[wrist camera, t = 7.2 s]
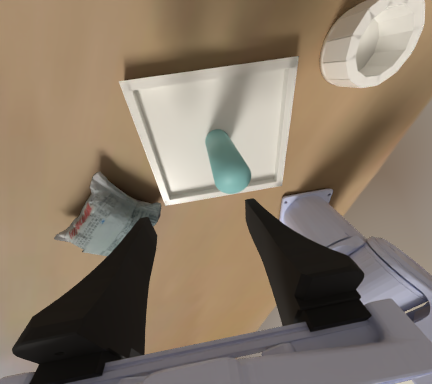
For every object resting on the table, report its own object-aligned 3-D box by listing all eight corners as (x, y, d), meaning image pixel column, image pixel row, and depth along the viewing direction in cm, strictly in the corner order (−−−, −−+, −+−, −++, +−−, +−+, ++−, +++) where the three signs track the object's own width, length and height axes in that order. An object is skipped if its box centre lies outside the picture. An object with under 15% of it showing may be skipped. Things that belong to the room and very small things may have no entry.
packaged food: (66, 222, 24) (42, 252, 20) (104, 163, 20) (83, 186, 16) (125, 244, 28) (116, 272, 24) (167, 199, 24) (163, 224, 20)
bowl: (366, 80, 19) (400, 82, 16) (313, 88, 18) (337, 91, 15) (393, 1, 15) (442, -17, 12) (328, 9, 15) (362, -7, 12)
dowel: (229, 151, 21) (250, 191, 14) (206, 154, 20) (215, 196, 13) (228, 127, 19) (252, 158, 12) (203, 130, 19) (212, 163, 12)
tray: (277, 180, 25) (281, 185, 23) (166, 199, 24) (165, 205, 23) (290, 57, 17) (298, 56, 15) (124, 80, 16) (118, 81, 15)
